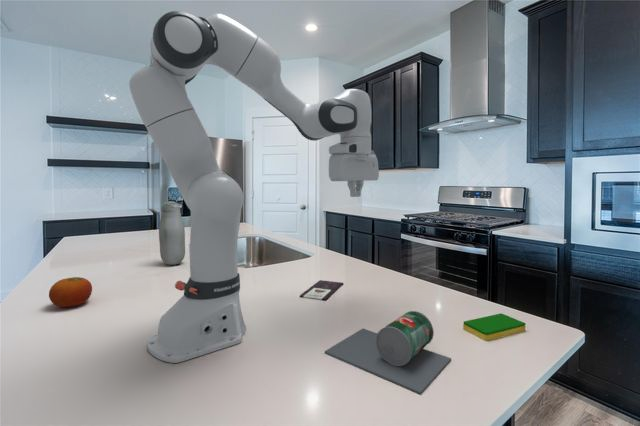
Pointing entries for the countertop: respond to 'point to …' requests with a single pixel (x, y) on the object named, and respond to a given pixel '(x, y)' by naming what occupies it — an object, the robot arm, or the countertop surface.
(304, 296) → the chocolate bar
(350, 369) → the countertop surface
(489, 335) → the dish sponge
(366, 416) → the countertop surface
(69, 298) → the fruit
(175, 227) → the grey bottle
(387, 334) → the canned tomato
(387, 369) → the rubber mat
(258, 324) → the countertop surface
